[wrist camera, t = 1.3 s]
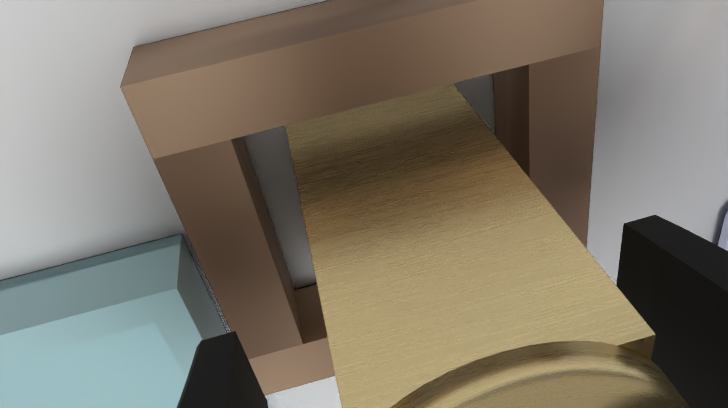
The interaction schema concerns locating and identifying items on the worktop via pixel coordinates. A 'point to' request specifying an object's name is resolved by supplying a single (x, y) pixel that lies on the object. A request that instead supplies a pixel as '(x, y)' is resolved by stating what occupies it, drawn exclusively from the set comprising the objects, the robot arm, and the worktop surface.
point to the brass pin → (457, 270)
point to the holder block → (340, 93)
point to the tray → (105, 330)
